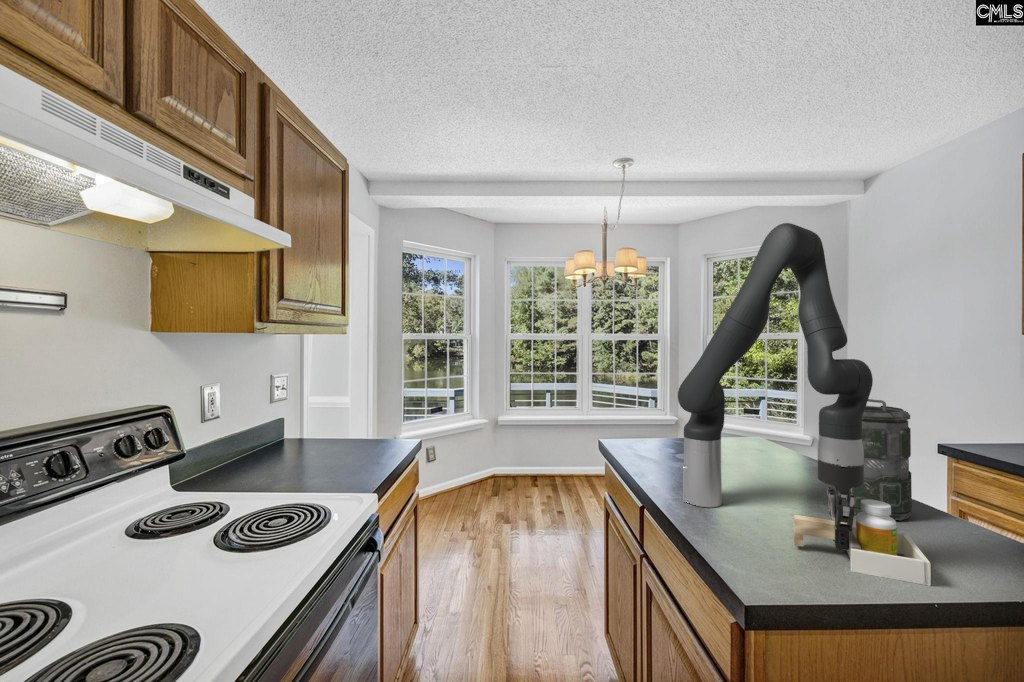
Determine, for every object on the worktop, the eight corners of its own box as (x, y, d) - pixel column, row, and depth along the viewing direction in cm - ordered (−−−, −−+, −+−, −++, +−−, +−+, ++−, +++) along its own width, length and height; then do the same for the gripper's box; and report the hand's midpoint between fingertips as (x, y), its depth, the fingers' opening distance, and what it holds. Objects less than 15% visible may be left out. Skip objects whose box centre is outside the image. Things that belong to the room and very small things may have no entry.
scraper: (796, 551, 91) (796, 524, 91) (792, 534, 99) (792, 509, 99) (860, 563, 86) (860, 534, 86) (851, 544, 94) (851, 517, 94)
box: (851, 571, 85) (851, 549, 85) (839, 542, 97) (838, 523, 97) (930, 585, 80) (930, 563, 80) (907, 553, 92) (906, 533, 92)
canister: (817, 504, 119) (816, 397, 119) (856, 496, 125) (855, 394, 125) (886, 526, 105) (884, 404, 105) (926, 516, 111) (925, 400, 111)
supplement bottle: (899, 572, 84) (898, 511, 84) (857, 563, 88) (856, 505, 88) (895, 559, 89) (894, 501, 89) (855, 551, 93) (854, 495, 93)
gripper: (813, 449, 99) (813, 529, 99) (822, 465, 87) (822, 556, 87) (856, 453, 96) (856, 535, 96) (871, 470, 83) (872, 565, 83)
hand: (840, 545), depth 91 cm, fingers closed on scraper, 2 cm apart
